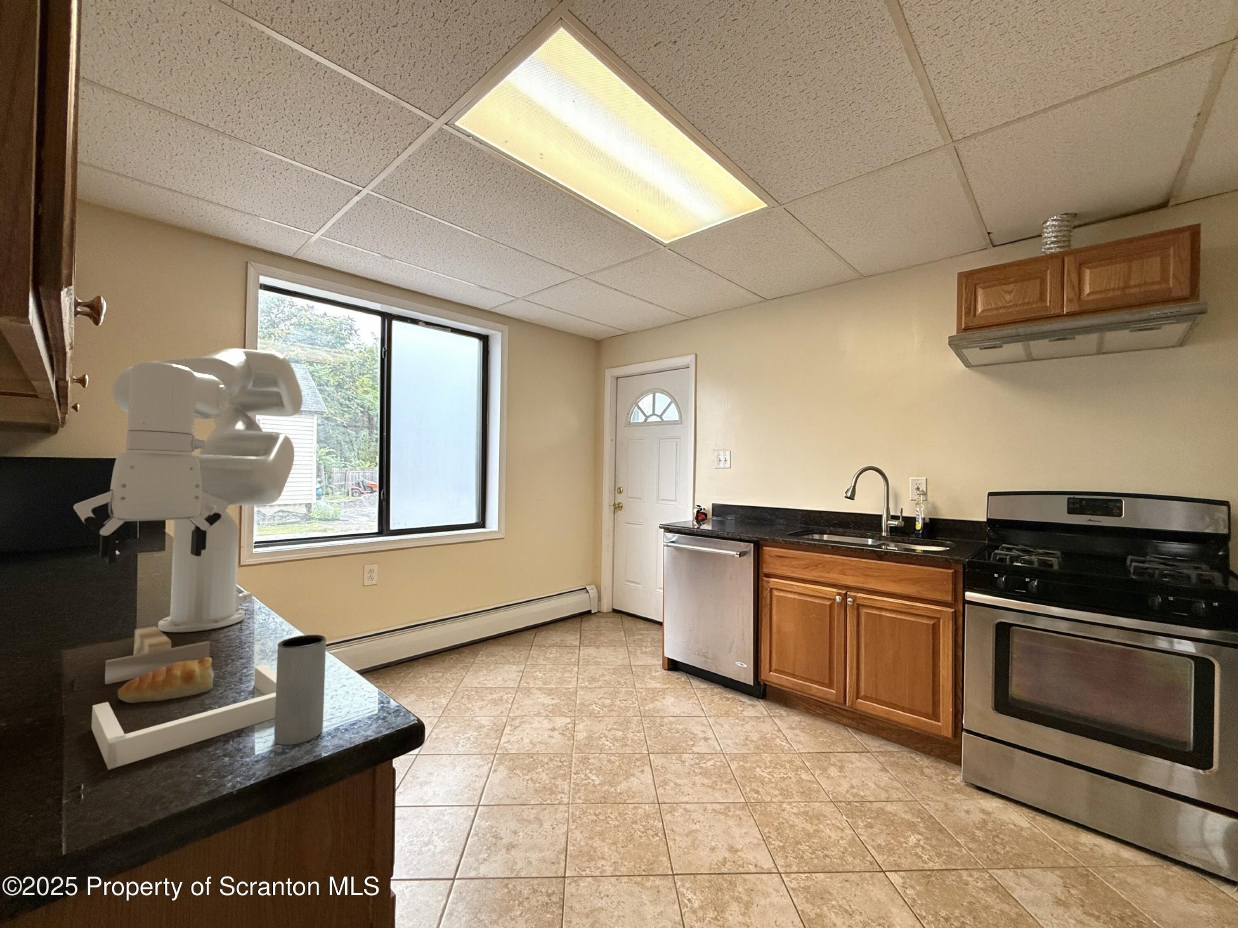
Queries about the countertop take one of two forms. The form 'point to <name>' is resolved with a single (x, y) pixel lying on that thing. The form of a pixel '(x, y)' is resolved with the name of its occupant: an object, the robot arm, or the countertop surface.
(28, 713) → the countertop surface
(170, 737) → the frame
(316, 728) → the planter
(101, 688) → the countertop surface
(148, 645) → the dough scraper
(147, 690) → the pastry
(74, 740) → the countertop surface
